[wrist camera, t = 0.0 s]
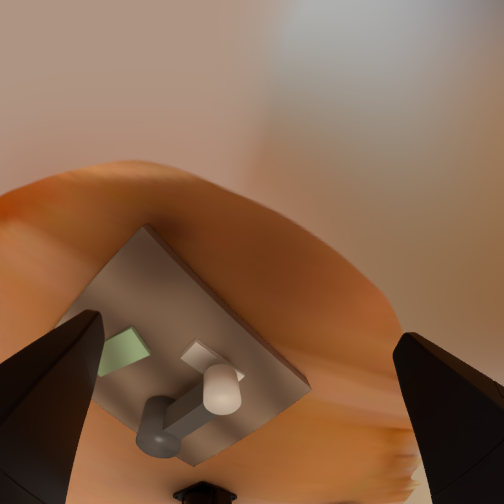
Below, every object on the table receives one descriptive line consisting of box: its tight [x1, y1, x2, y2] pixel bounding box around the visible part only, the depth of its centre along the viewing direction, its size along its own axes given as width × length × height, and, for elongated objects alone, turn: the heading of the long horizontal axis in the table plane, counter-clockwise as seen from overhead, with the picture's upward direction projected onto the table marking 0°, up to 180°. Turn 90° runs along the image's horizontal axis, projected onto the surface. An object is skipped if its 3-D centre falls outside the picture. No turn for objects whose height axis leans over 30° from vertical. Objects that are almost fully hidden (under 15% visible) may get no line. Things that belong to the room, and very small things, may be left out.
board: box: [54, 224, 312, 467], centre depth 23 cm, size 16×20×3 cm
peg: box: [136, 364, 241, 458], centre depth 20 cm, size 10×4×4 cm, turn 132°
